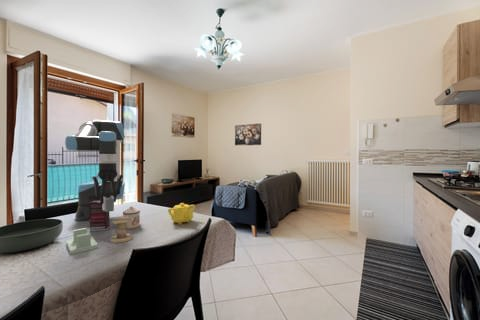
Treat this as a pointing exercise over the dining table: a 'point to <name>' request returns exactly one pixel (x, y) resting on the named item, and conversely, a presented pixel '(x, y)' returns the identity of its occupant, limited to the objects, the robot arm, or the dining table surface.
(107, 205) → the lead tab
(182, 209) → the teapot
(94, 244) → the notch board
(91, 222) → the supplement box
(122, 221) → the bobbin
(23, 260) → the dining table surface
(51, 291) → the dining table surface
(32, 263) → the dining table surface
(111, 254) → the dining table surface
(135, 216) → the teacup with lid
